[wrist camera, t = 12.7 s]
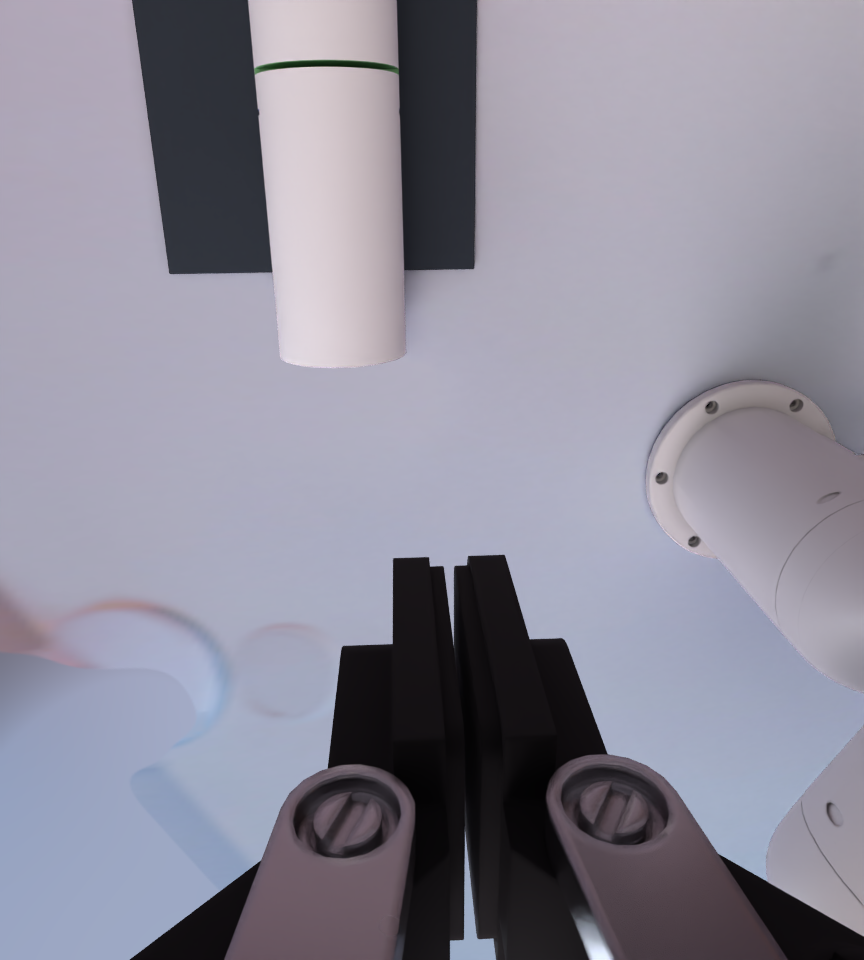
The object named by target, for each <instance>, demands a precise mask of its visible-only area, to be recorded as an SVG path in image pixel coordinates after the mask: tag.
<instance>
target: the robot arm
mask: <svg viewBox="0 0 864 960" xmlns="http://www.w3.org/2000/svg"><path fill="white" fill-rule="evenodd" d="M792 401H793V402H792ZM709 402H710V405H709V406H708V407H706V404H708V403H709ZM791 402H792V404H791ZM790 404H791V405H790ZM660 472H661V474H660V475H659V476H656V475H657V474H658V473H660ZM645 478H646V495H647V498H648V502H649V506H650V509H651V511H652V513H653V515H654V517H655V519H656V520H657V522H658V524H659V525H660V526H661V527H662V529H663V530H664V531H665V533H666V534H667V535H668V536H669V537H670V538H671V539H672V540H674V541H675V542H676V543H677V544H678V545H680V546H681V547H683V548H684V549H686V550H688V551H690V552H692V553H695V554H698V555H701V556H704V557H708V558H715V559H719V560H720V561H721V563H722V564H723V565H724V566H725V567H726V568H727V570H728V571H729V572H730V573H731V574H732V576H733V577H734V578H735V579H736V580H737V581H738V583H739V584H740V585H741V586H742V587H743V588H744V590H745V591H746V592H747V593H748V594H749V595H750V597H751V598H752V599H753V600H754V601H755V602H756V604H757V605H758V606H759V607H760V608H761V610H762V611H763V612H764V613H765V614H766V615H767V617H768V618H769V619H770V620H771V621H772V622H773V624H774V625H775V626H776V627H777V628H778V629H779V631H780V632H781V633H782V634H783V635H784V636H785V638H786V639H787V640H788V641H789V642H790V643H791V644H792V646H793V647H794V648H795V649H796V650H797V651H798V652H799V654H800V655H801V656H802V657H803V658H804V659H805V660H806V661H807V662H808V663H809V664H810V665H811V666H812V667H814V668H815V669H816V670H817V671H819V672H820V673H822V674H823V675H825V676H826V677H827V678H829V679H831V680H832V681H834V682H836V683H839V684H841V685H843V686H845V687H847V688H850V689H852V690H854V691H857V692H861V693H864V454H861V455H855V453H854V452H852V451H851V450H849V449H847V448H846V447H844V446H842V445H841V444H839V443H837V442H836V440H835V435H834V433H833V430H832V428H831V425H830V423H829V420H828V419H827V418H826V416H825V415H824V413H823V412H822V411H821V409H820V408H819V407H818V406H817V405H816V404H815V403H814V402H812V401H811V400H810V399H809V398H808V397H807V396H805V395H803V394H801V393H800V392H798V391H796V390H794V389H792V388H789V387H787V386H785V385H782V384H780V383H776V382H770V381H764V380H742V381H737V382H732V383H727V384H723V385H721V386H718V387H716V388H713V389H711V390H708V391H706V392H704V393H703V394H701V395H699V396H698V397H696V398H694V399H693V400H691V401H689V402H688V403H687V404H686V405H685V406H684V407H683V408H681V409H680V410H679V411H678V412H677V413H676V414H675V415H674V416H673V417H672V418H671V419H670V421H669V422H668V423H667V424H666V425H665V427H664V428H663V429H662V431H661V433H660V435H659V436H658V438H657V440H656V442H655V443H654V445H653V448H652V451H651V454H650V457H649V460H648V464H647V471H646V477H645ZM465 832H466V841H467V850H468V860H469V869H470V878H471V887H472V897H473V906H474V915H475V924H476V933H477V938H478V939H490V938H494V946H495V954H496V960H864V725H863V726H862V728H861V729H860V730H859V731H858V732H857V733H856V734H855V735H854V737H853V738H852V739H851V740H850V741H849V742H848V743H847V744H846V746H845V747H844V748H843V749H842V750H841V751H840V752H839V753H838V755H837V756H836V757H835V758H834V759H833V760H832V761H831V762H830V764H829V765H828V766H827V767H826V768H825V769H824V770H823V771H822V773H821V774H820V775H819V776H818V777H817V778H816V779H815V780H814V782H813V783H812V784H811V785H810V786H809V787H808V788H807V790H806V791H805V793H804V794H803V795H802V796H801V797H800V798H799V800H798V801H797V802H796V803H795V804H794V805H793V806H792V808H791V809H790V810H789V812H788V813H787V814H786V816H785V817H784V818H783V820H782V821H781V822H780V824H779V825H778V827H777V828H776V830H775V832H774V834H773V836H772V838H771V841H770V843H769V846H768V851H767V855H766V875H767V880H768V882H767V881H765V880H763V879H762V878H760V877H758V876H756V875H754V874H753V873H751V872H749V871H747V870H746V869H744V868H742V867H740V866H739V865H737V864H735V863H733V862H732V861H730V860H728V859H726V858H725V857H723V856H721V855H719V854H718V853H717V852H716V850H715V849H714V847H713V846H712V844H711V843H710V841H709V840H708V838H707V837H706V835H705V834H704V832H703V831H702V829H701V828H700V826H699V825H698V823H697V822H696V820H695V819H694V817H693V816H692V814H691V813H690V811H689V810H688V808H687V806H686V805H685V803H684V802H683V800H682V799H681V797H680V796H679V794H678V793H677V791H676V790H675V789H674V788H673V787H672V786H671V785H670V784H669V782H668V781H667V780H666V779H665V778H664V777H663V776H661V775H660V774H658V773H657V772H655V771H654V770H653V769H651V768H650V767H648V766H646V765H644V764H641V763H639V762H637V761H634V760H632V759H629V758H625V757H620V756H614V755H609V754H607V751H606V749H605V746H604V743H603V741H602V738H601V735H600V732H599V730H598V727H597V724H596V722H595V719H594V716H593V713H592V711H591V708H590V705H589V703H588V700H587V697H586V695H585V692H584V689H583V686H582V684H581V681H580V678H579V676H578V673H577V670H576V668H575V665H574V662H573V659H572V657H571V654H570V651H569V649H568V646H567V644H566V642H565V640H564V639H562V638H557V639H529V636H528V633H527V629H526V626H525V622H524V619H523V615H522V612H521V609H520V605H519V602H518V598H517V595H516V592H515V588H514V585H513V581H512V578H511V574H510V571H509V568H508V564H507V561H506V558H505V555H487V556H468V561H467V566H455V567H454V645H453V637H452V629H451V622H450V614H449V606H448V598H447V590H446V582H445V574H444V567H443V566H436V567H430V563H429V557H421V558H393V644H386V645H357V646H343V647H342V650H341V657H340V666H339V675H338V683H337V692H336V701H335V710H334V719H333V727H332V736H331V745H330V754H329V763H328V769H325V770H322V771H320V772H318V773H316V774H314V775H312V776H310V777H308V778H307V779H305V780H303V781H302V782H301V783H300V784H299V785H298V786H297V787H296V788H295V789H294V790H292V791H291V792H290V793H289V795H288V797H287V799H286V800H285V802H284V804H283V806H282V807H281V809H280V812H279V815H278V817H277V820H276V823H275V825H274V828H273V831H272V833H271V836H270V839H269V841H268V844H267V847H266V849H265V852H264V855H263V857H262V860H261V861H260V862H258V863H257V864H256V865H254V866H253V867H252V868H250V869H249V870H248V871H246V872H245V873H244V874H243V875H241V876H240V877H239V878H237V879H236V880H235V881H233V882H232V883H231V884H229V885H228V886H227V887H225V888H224V889H223V890H221V891H220V892H219V893H217V894H216V895H215V896H213V897H212V898H211V899H210V900H208V901H207V902H205V903H204V904H203V905H201V906H200V907H199V908H198V909H196V910H195V911H194V912H192V913H191V914H190V915H188V916H187V917H186V918H184V919H183V920H182V921H180V922H179V923H178V924H176V925H175V926H174V927H172V928H171V929H170V930H168V931H167V932H166V933H164V934H163V935H162V936H161V937H159V938H158V939H156V940H155V941H154V942H152V943H151V944H150V945H149V946H147V947H146V948H145V949H144V950H142V951H141V952H139V953H138V954H137V955H135V956H134V957H133V958H131V959H130V960H450V940H463V939H464V858H465Z"/></svg>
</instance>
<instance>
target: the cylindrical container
mask: <svg viewBox="0 0 864 960" xmlns="http://www.w3.org/2000/svg"><path fill="white" fill-rule="evenodd" d="M248 6H249V17H250V28H251V39H252V50H253V61H254V72H255V83H256V94H257V105H258V110H259V114H260V115H259V116H258V117H259V128H260V139H261V150H262V161H263V172H264V183H265V194H266V205H267V216H268V227H269V238H270V249H271V260H272V271H273V282H274V294H275V305H276V316H277V327H278V338H279V349H280V358H281V359H282V360H283V361H285V362H287V363H289V364H294V365H298V366H305V367H316V368H350V367H362V366H371V365H377V364H382V363H386V362H391V361H394V360H397V359H399V358H401V357H403V356H404V355H405V354H406V325H405V288H404V250H403V213H402V175H401V138H400V115H399V109H400V101H399V66H398V31H397V0H248Z"/></svg>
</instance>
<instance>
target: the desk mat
mask: <svg viewBox="0 0 864 960" xmlns="http://www.w3.org/2000/svg"><path fill="white" fill-rule="evenodd" d="M132 3H133V10H134V17H135V25H136V32H137V39H138V47H139V54H140V61H141V69H142V76H143V83H144V91H145V98H146V105H147V113H148V120H149V127H150V135H151V142H152V149H153V157H154V164H155V171H156V179H157V186H158V193H159V201H160V208H161V215H162V223H163V230H164V237H165V245H166V252H167V259H168V267H169V273H170V274H197V273H258V272H273V271H272V260H271V249H270V238H269V227H268V216H267V205H266V194H265V183H264V172H263V161H262V150H261V139H260V128H259V117H258V116H259V115H260V114H259V110H258V105H257V94H256V83H255V72H254V61H253V50H252V39H251V28H250V17H249V6H248V0H132ZM476 19H477V0H397V31H398V66H399V101H400V109H399V115H400V138H401V175H402V213H403V250H404V270H438V269H474V231H475V125H476Z"/></svg>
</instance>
